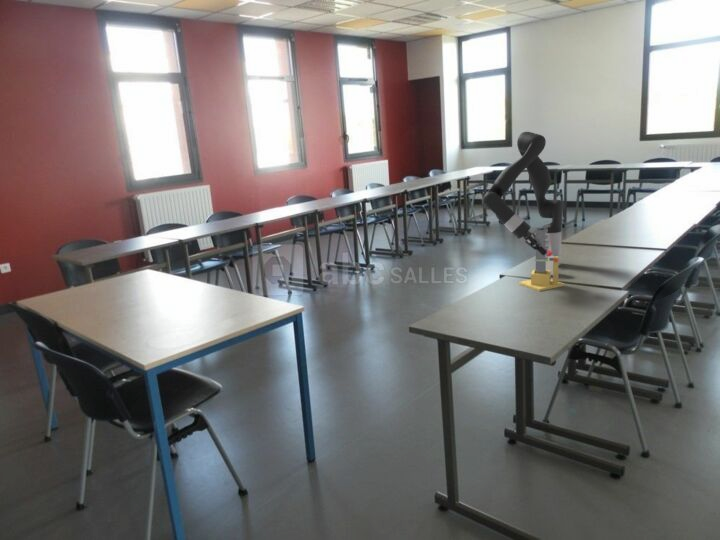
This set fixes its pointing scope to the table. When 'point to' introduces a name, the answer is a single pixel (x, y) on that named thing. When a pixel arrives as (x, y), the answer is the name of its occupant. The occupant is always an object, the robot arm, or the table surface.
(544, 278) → the stand base
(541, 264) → the column
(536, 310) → the table surface
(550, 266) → the pill bottle
